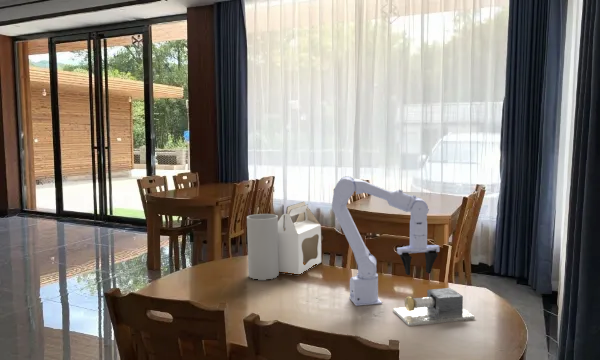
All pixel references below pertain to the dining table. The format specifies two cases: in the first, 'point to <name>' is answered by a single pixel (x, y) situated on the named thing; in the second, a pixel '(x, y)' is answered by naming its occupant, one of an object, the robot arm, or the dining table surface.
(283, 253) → the gable box
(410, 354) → the dining table surface
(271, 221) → the cylinder vase
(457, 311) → the bearing block
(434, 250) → the robot arm
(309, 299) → the dining table surface
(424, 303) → the shaft
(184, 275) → the dining table surface
